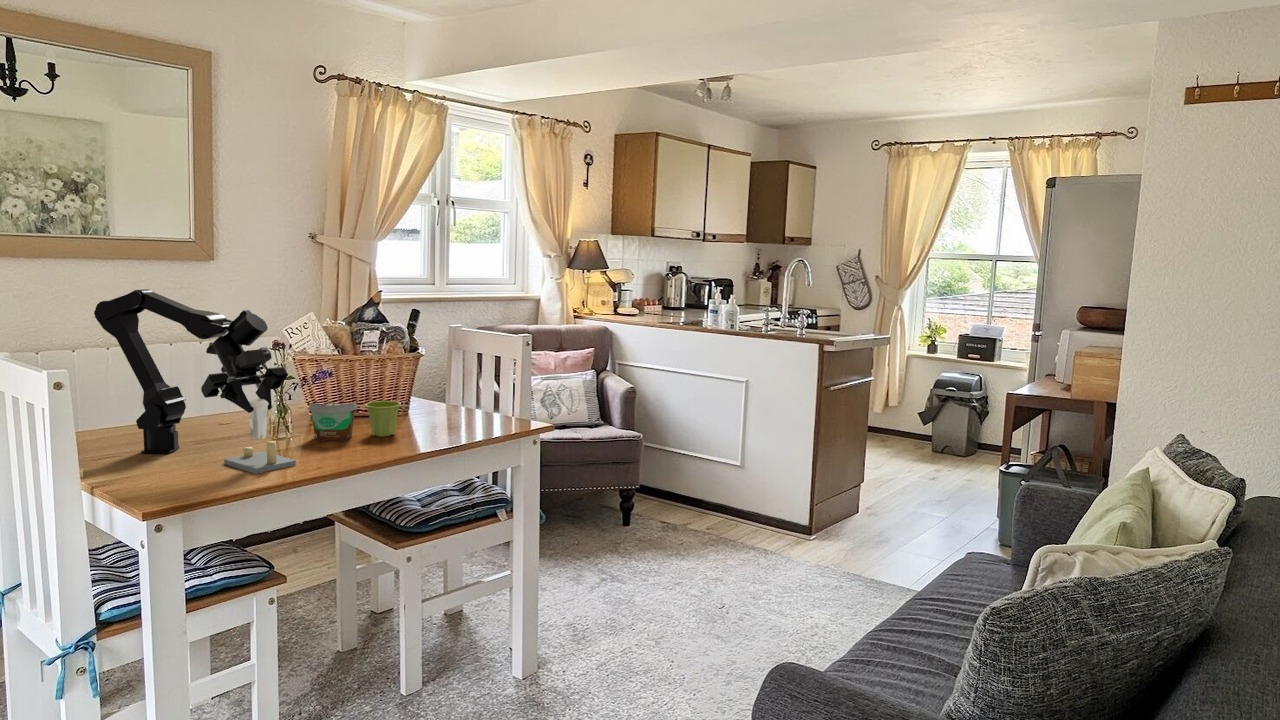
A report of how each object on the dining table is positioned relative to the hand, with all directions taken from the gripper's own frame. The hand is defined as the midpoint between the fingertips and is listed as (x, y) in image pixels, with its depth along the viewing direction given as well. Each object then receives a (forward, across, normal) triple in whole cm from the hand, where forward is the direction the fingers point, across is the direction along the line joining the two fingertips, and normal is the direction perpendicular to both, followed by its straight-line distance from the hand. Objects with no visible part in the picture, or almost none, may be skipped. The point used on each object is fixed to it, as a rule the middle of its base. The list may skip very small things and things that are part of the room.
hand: (260, 410), depth 191 cm
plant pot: (+5, +40, +14) cm, 42 cm away
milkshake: (+4, 0, +6) cm, 7 cm away
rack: (+8, 0, +10) cm, 13 cm away
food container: (+2, +26, +17) cm, 31 cm away
